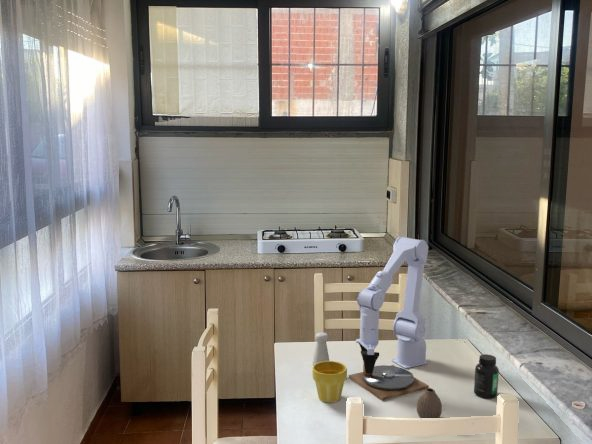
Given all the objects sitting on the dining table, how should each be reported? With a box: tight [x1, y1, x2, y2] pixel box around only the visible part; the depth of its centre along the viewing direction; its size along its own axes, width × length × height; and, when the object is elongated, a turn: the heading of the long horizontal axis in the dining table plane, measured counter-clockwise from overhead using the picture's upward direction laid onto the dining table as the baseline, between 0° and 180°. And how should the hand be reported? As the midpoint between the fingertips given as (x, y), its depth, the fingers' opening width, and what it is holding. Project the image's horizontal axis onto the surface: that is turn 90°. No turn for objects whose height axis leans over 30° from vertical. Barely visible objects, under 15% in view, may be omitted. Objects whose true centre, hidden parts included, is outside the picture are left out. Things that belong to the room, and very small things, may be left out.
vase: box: [416, 387, 443, 419], centre depth 167 cm, size 7×7×9 cm
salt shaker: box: [312, 331, 330, 367], centre depth 198 cm, size 6×6×13 cm
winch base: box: [348, 364, 430, 402], centre depth 191 cm, size 18×18×1 cm
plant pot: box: [312, 360, 348, 404], centre depth 179 cm, size 10×10×10 cm
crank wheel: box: [362, 359, 414, 390], centre depth 190 cm, size 16×16×7 cm
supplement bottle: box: [473, 354, 500, 400], centre depth 183 cm, size 7×7×12 cm
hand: (367, 368), depth 190 cm, fingers open, 7 cm apart
